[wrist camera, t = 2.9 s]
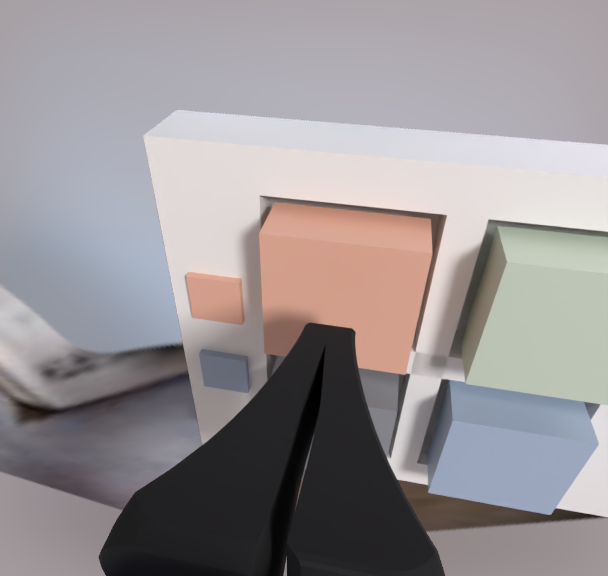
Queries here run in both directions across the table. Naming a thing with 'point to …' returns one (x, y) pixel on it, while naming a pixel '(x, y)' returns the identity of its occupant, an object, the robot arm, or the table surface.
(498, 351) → the key sage
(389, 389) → the key charcoal
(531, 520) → the table surface
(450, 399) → the key slate
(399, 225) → the key terracotta
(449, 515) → the table surface
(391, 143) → the keypad
